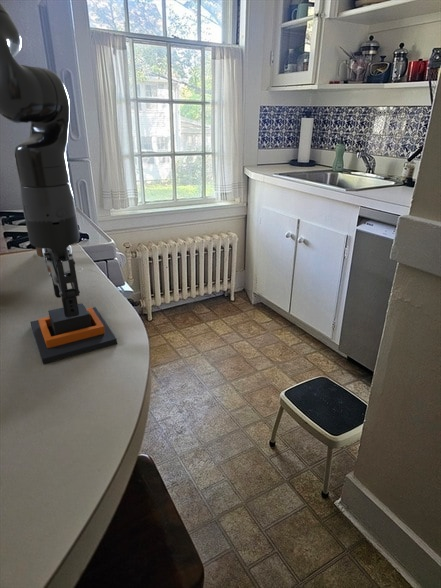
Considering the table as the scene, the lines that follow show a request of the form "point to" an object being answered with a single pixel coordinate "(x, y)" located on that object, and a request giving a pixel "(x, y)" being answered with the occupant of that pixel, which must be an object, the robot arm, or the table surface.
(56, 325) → the dark gray block
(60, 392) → the table surface
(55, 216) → the robot arm
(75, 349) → the base pad
